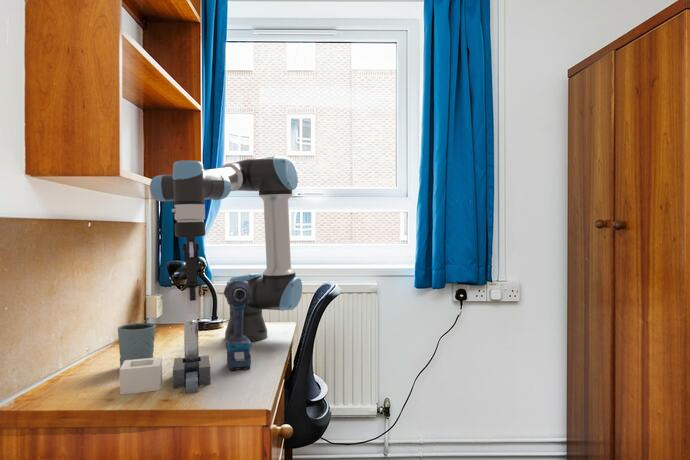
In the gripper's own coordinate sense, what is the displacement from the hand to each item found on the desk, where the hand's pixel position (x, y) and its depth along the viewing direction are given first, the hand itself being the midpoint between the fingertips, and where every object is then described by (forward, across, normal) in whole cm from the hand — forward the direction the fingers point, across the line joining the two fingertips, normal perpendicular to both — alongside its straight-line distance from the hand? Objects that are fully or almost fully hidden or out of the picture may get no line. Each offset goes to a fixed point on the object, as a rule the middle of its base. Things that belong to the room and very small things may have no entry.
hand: (193, 312), depth 126 cm
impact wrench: (+19, -9, +12) cm, 24 cm away
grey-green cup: (+18, -20, -16) cm, 31 cm away
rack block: (+18, 0, -13) cm, 22 cm away
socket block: (+18, -2, -1) cm, 18 cm away
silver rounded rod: (+18, -5, -1) cm, 19 cm away
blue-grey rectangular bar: (+18, +5, -1) cm, 19 cm away
